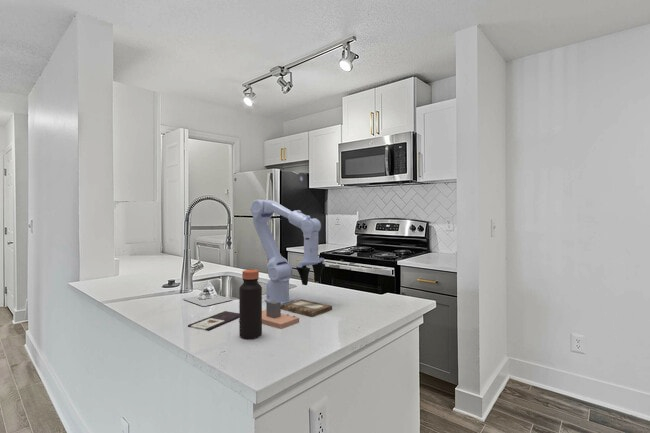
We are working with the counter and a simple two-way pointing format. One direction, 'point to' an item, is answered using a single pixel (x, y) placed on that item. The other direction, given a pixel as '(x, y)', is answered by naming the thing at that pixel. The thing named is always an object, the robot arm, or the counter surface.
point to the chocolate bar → (215, 321)
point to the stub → (277, 316)
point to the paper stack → (208, 300)
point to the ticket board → (306, 307)
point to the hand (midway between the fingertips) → (311, 283)
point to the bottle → (250, 305)
